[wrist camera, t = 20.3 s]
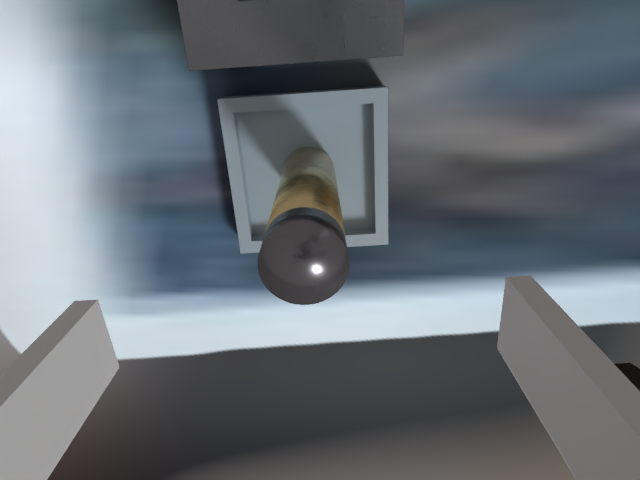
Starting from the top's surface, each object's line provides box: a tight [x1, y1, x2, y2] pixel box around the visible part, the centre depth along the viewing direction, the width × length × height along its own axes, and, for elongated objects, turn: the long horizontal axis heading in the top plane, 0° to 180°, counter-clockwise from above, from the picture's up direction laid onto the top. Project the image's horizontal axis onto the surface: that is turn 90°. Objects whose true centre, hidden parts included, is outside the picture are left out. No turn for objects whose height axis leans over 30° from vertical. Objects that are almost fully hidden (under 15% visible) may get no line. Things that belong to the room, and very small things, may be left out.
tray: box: [217, 86, 388, 253], centre depth 33 cm, size 12×12×2 cm
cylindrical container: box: [258, 147, 349, 305], centre depth 26 cm, size 4×4×16 cm
